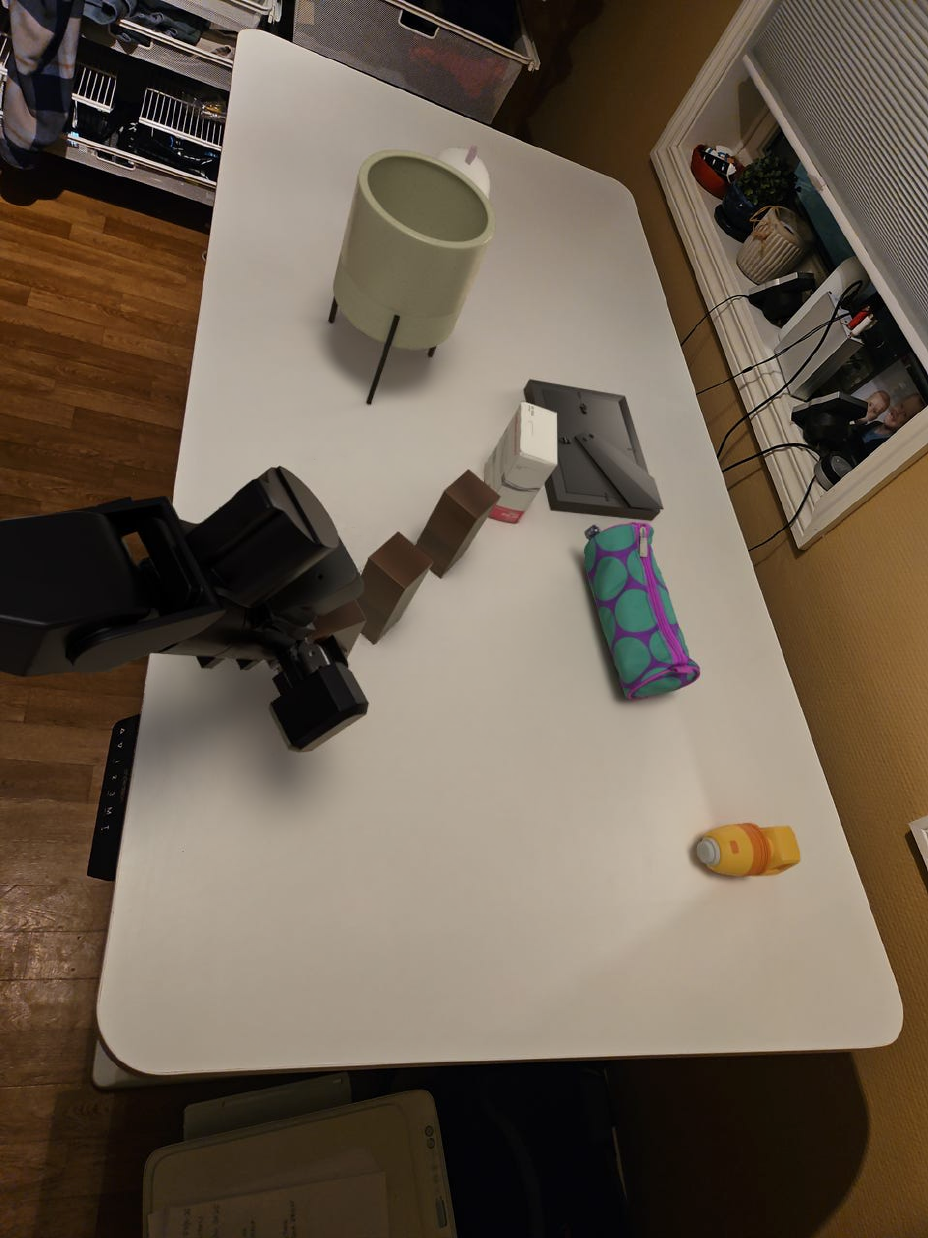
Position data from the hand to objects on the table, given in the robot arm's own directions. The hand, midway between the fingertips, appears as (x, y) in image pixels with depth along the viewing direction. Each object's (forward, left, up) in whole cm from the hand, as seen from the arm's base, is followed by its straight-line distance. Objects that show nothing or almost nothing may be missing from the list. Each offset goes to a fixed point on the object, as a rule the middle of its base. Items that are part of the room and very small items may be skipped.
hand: (330, 630), depth 60 cm
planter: (+31, +36, -13) cm, 49 cm away
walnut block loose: (-1, 0, -7) cm, 7 cm away
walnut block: (+10, +4, -13) cm, 17 cm away
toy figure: (+32, -38, -13) cm, 51 cm away
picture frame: (+52, +13, -13) cm, 55 cm away
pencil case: (+38, -10, -13) cm, 41 cm away
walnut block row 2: (+21, +8, -13) cm, 26 cm away
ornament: (+59, +60, -13) cm, 85 cm away
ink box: (+35, +12, -13) cm, 39 cm away
